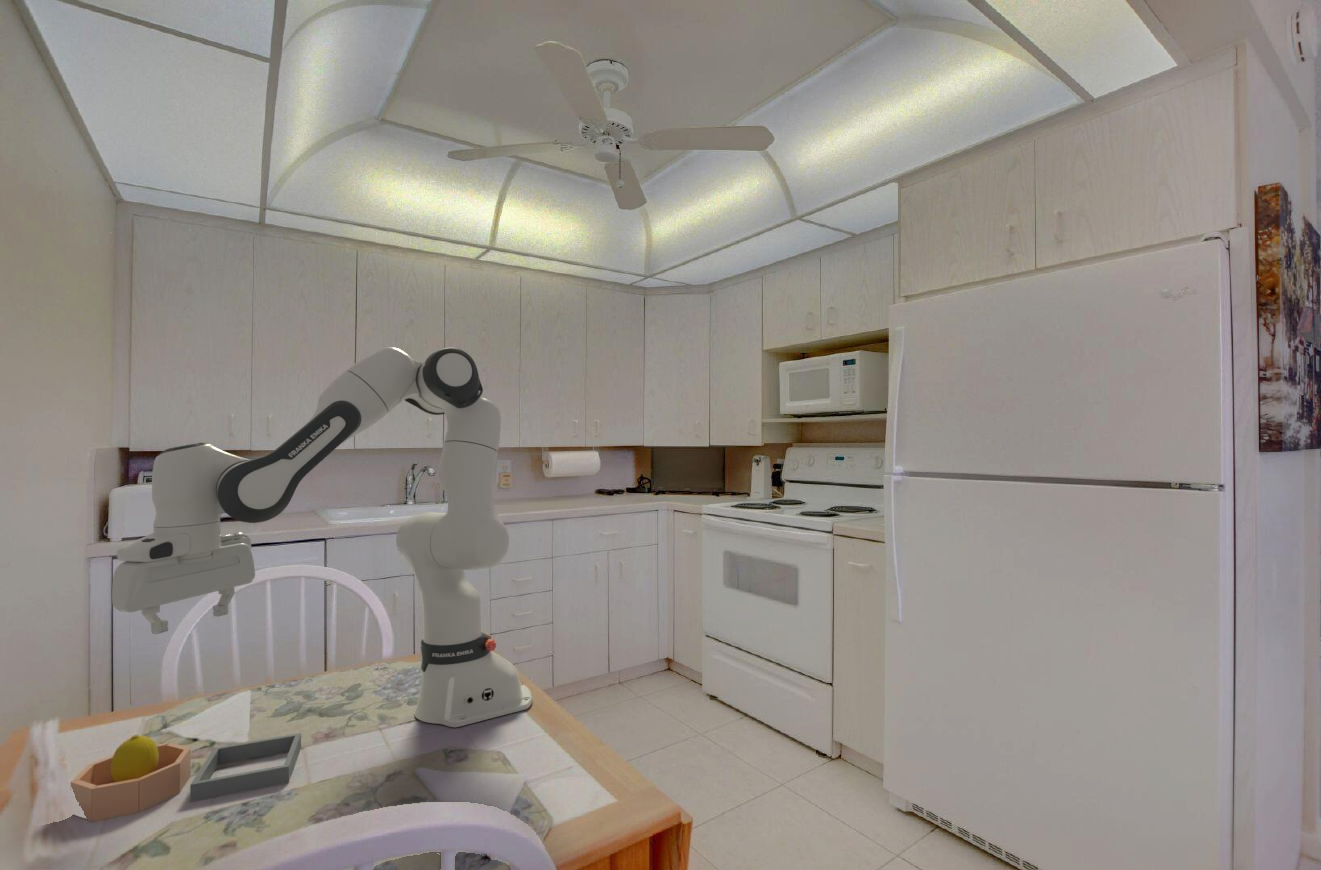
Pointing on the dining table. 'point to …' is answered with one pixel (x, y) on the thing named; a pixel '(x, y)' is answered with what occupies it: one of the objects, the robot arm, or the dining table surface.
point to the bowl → (131, 785)
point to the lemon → (134, 759)
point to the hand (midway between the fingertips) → (191, 623)
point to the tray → (247, 780)
